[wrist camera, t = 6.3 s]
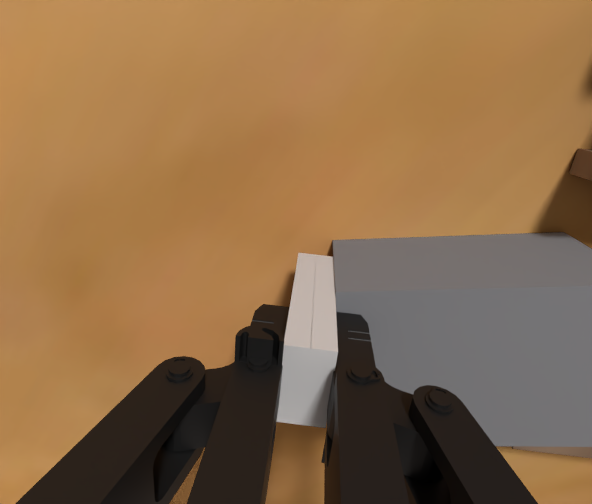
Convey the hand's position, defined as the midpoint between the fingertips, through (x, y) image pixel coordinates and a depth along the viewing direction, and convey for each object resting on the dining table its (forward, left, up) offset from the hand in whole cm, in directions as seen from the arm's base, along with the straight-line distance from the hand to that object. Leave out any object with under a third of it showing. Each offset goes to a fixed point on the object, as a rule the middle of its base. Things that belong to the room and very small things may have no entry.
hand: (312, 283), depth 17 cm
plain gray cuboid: (+6, -1, -2) cm, 7 cm away
